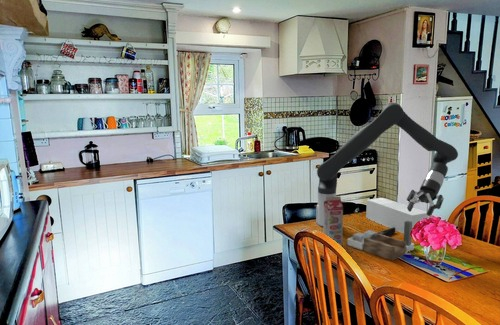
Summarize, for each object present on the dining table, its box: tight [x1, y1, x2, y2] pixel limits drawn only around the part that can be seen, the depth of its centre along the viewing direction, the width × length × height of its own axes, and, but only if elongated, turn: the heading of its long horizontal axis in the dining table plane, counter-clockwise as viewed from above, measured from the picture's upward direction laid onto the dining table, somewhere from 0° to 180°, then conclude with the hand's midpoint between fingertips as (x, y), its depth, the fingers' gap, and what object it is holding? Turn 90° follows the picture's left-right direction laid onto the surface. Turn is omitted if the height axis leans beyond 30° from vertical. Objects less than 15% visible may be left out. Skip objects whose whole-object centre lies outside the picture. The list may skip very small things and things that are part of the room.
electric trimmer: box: [377, 227, 396, 237], centre depth 172 cm, size 4×16×3 cm, turn 126°
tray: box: [346, 236, 364, 251], centre depth 162 cm, size 8×10×3 cm
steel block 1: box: [352, 232, 364, 243], centre depth 162 cm, size 4×4×4 cm
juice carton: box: [322, 196, 344, 247], centre depth 162 cm, size 7×7×22 cm
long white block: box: [365, 197, 430, 235], centre depth 186 cm, size 32×11×11 cm, turn 21°
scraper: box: [403, 221, 415, 253], centre depth 155 cm, size 3×6×12 cm, turn 128°
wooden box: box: [363, 232, 406, 261], centre depth 153 cm, size 14×10×6 cm
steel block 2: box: [363, 230, 378, 241], centre depth 158 cm, size 4×4×4 cm
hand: (418, 212), depth 158 cm, fingers open, 8 cm apart
